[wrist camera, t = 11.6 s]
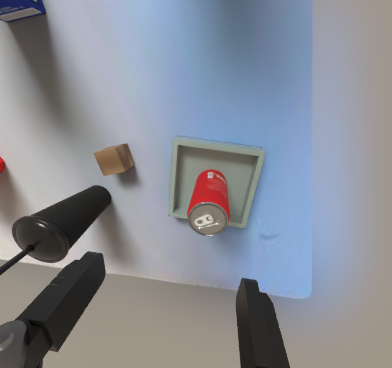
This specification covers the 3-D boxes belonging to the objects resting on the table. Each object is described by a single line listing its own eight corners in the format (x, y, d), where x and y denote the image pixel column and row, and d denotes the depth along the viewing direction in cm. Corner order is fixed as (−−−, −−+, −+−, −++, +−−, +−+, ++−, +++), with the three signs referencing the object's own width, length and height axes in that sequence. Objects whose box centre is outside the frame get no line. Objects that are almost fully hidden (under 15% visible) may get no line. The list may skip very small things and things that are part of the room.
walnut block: (107, 147, 33) (93, 152, 29) (127, 143, 32) (115, 147, 28) (116, 168, 34) (103, 176, 31) (135, 164, 33) (124, 171, 30)
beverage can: (230, 188, 32) (237, 230, 21) (204, 198, 34) (197, 242, 23) (218, 162, 31) (219, 193, 20) (191, 174, 32) (178, 209, 21)
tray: (177, 135, 30) (172, 138, 28) (261, 147, 30) (265, 151, 27) (172, 207, 36) (168, 215, 33) (242, 218, 35) (244, 228, 32)
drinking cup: (105, 173, 35) (-20, 248, 16) (124, 207, 37) (34, 303, 19) (74, 184, 37) (-70, 263, 18) (94, 215, 39) (-15, 312, 21)
